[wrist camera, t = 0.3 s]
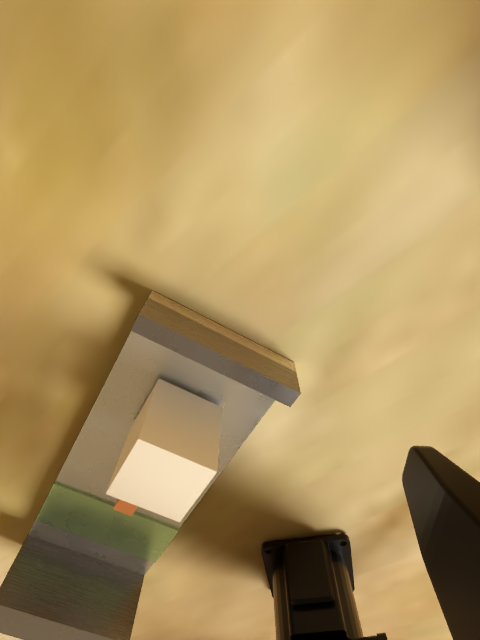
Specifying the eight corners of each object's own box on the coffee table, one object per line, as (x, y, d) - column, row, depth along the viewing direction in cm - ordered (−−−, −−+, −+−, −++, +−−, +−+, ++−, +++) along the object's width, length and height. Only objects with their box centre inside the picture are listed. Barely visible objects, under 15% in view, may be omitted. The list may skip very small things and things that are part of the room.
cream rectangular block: (158, 378, 22) (138, 438, 18) (222, 407, 23) (217, 471, 19) (100, 480, 26) (71, 551, 21) (157, 502, 26) (140, 575, 22)
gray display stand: (152, 290, 21) (124, 339, 16) (294, 362, 23) (307, 426, 18) (22, 545, 30) (-21, 626, 26) (132, 582, 32) (111, 665, 27)
